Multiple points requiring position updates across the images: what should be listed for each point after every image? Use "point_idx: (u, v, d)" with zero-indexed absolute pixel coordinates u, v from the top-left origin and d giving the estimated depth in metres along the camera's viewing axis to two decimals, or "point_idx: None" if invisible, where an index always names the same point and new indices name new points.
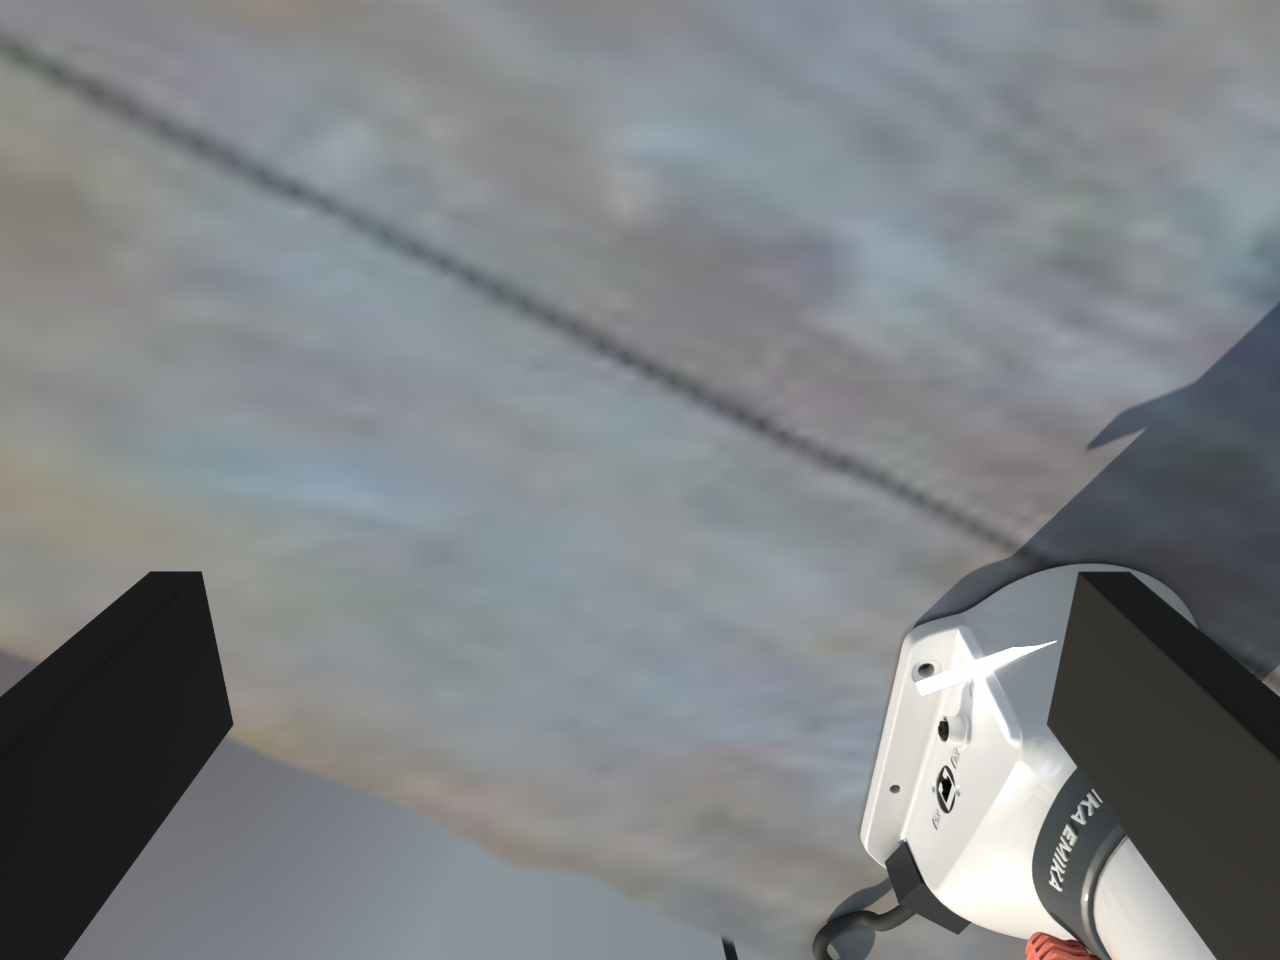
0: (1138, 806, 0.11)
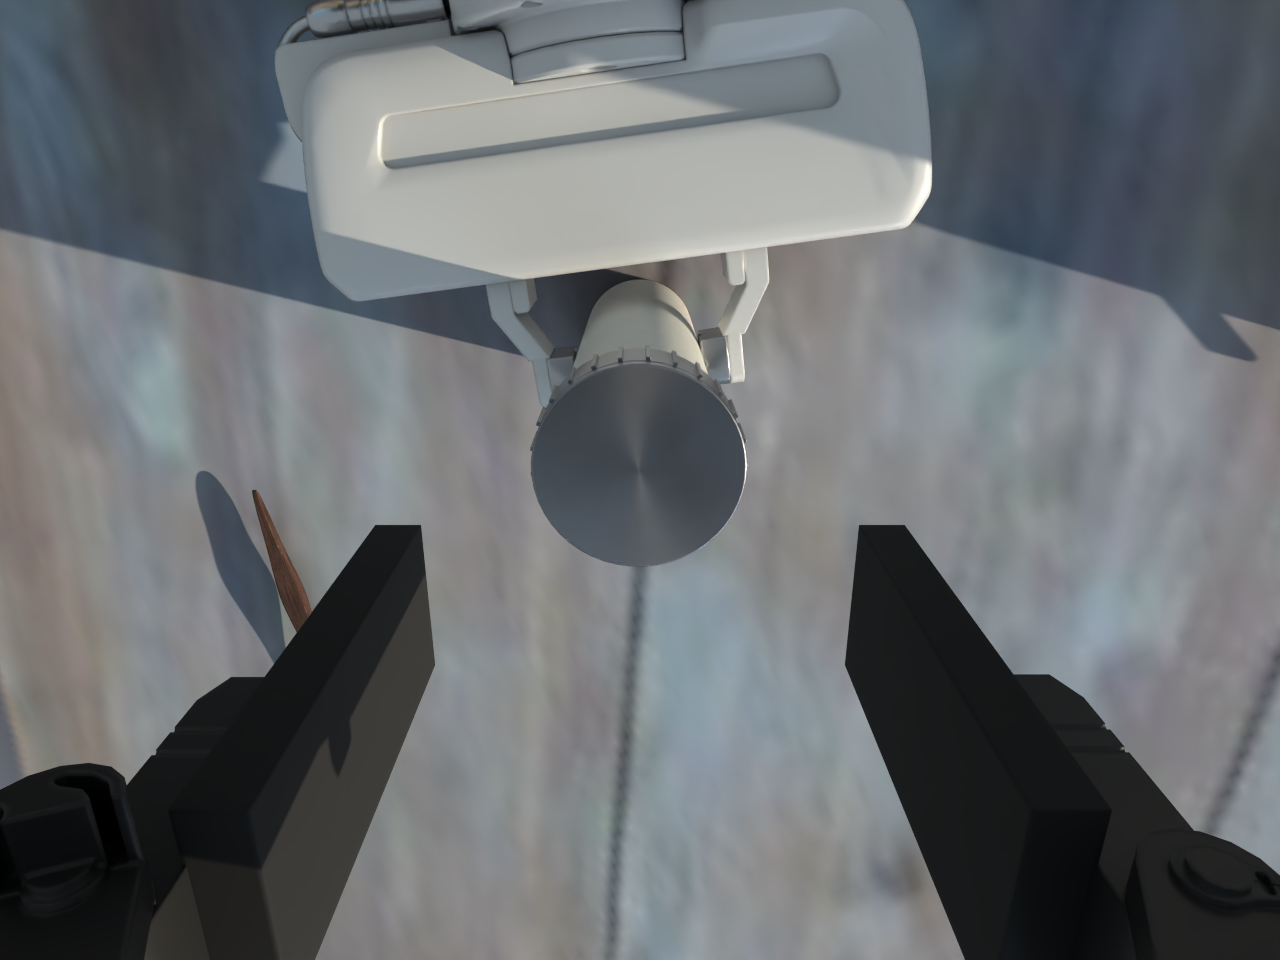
0: (885, 725, 0.12)
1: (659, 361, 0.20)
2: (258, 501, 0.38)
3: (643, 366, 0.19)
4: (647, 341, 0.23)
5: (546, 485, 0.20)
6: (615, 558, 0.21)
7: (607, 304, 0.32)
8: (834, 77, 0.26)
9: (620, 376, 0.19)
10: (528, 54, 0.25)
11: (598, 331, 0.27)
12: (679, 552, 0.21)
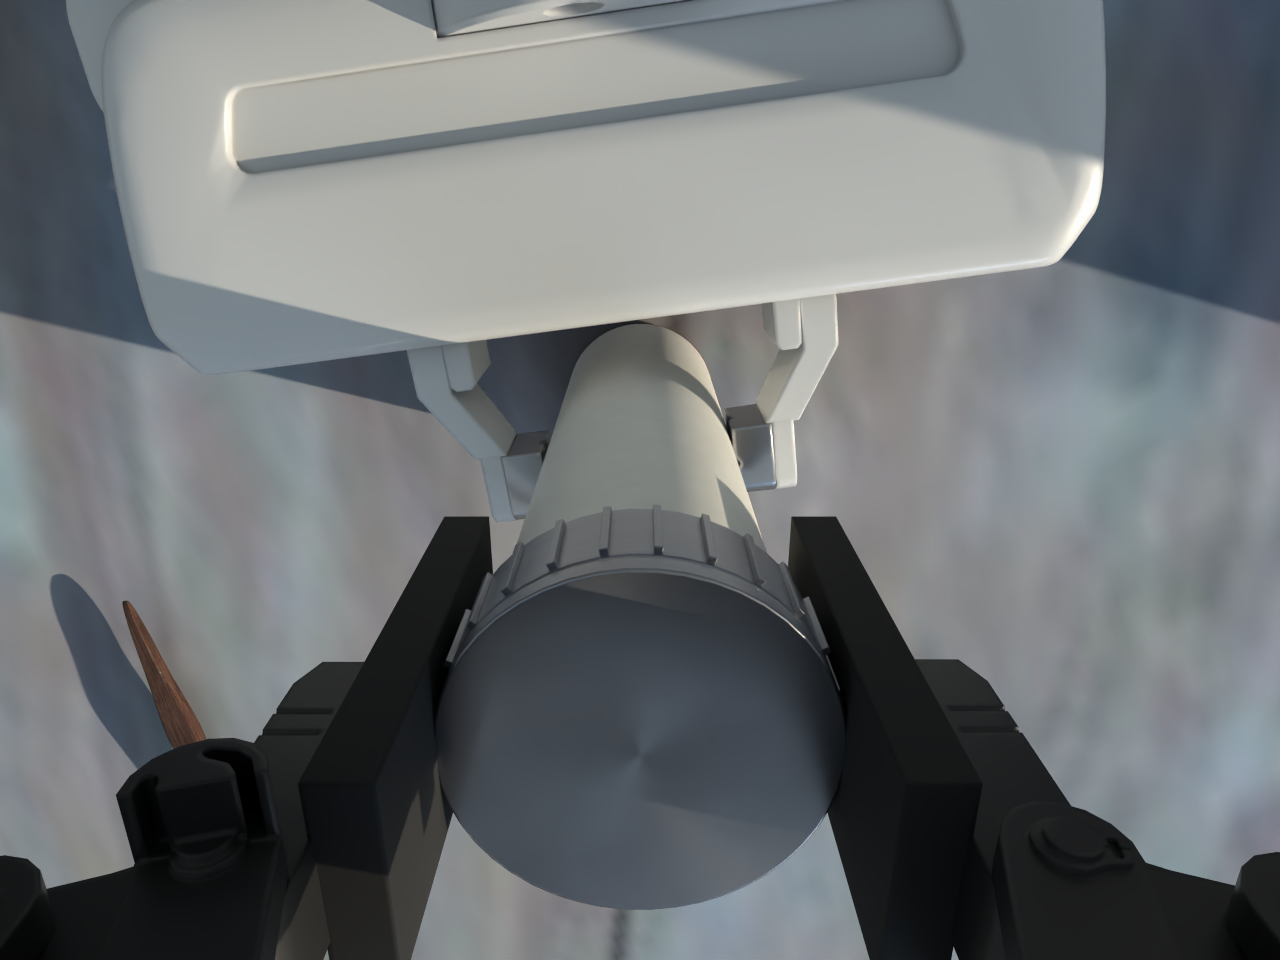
0: None
1: (680, 554, 0.10)
2: (130, 615, 0.29)
3: (650, 572, 0.10)
4: (654, 468, 0.14)
5: (464, 780, 0.11)
6: (596, 898, 0.11)
7: (594, 368, 0.22)
8: (953, 26, 0.16)
9: (603, 592, 0.10)
10: None
11: (576, 427, 0.17)
12: (715, 887, 0.11)
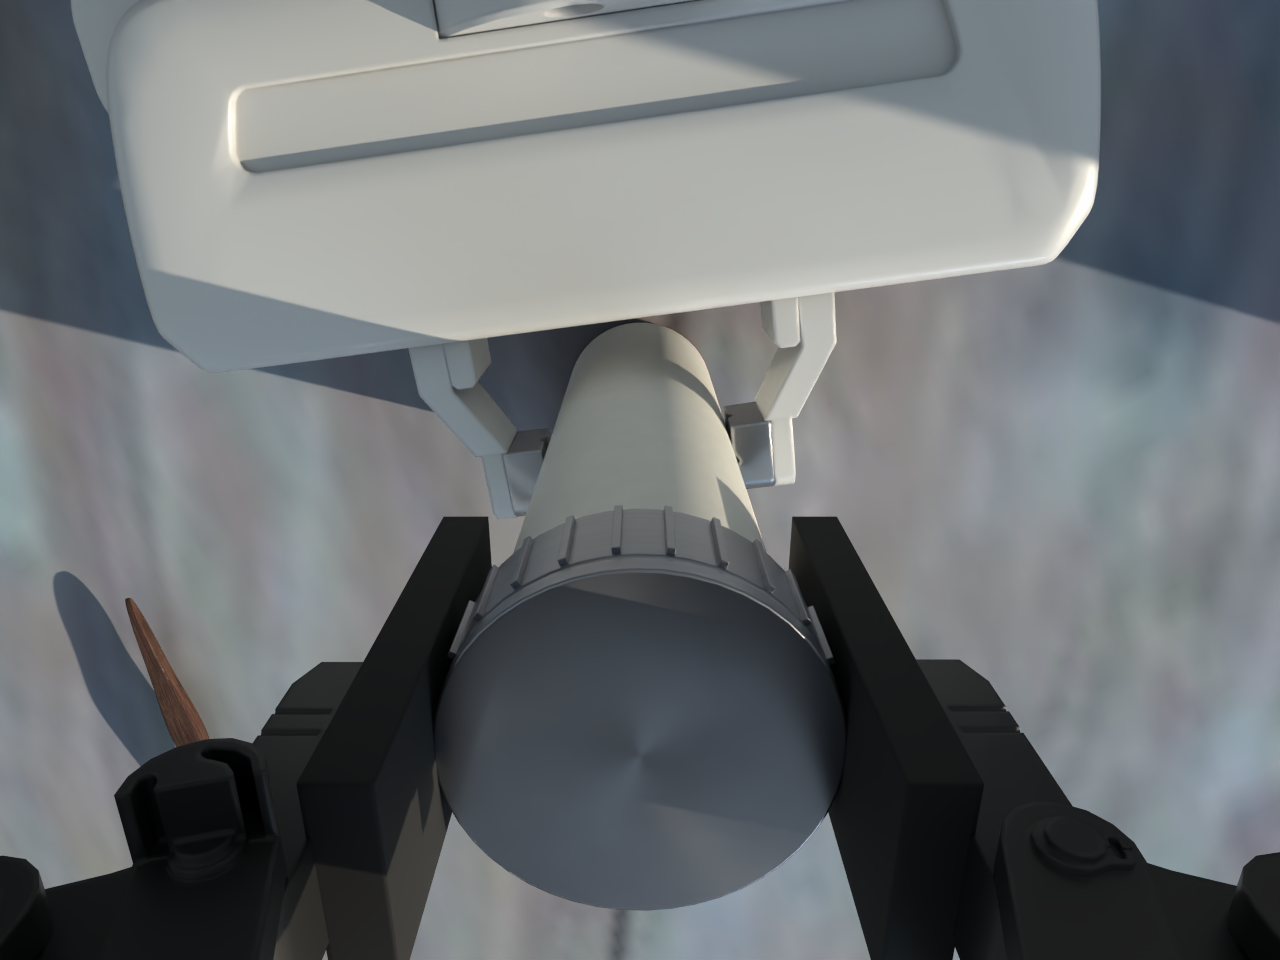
0: None
1: None
2: (133, 612, 0.29)
3: (478, 843, 0.11)
4: (654, 464, 0.14)
5: (764, 852, 0.11)
6: (825, 695, 0.10)
7: (594, 366, 0.22)
8: (950, 27, 0.16)
9: (517, 861, 0.11)
10: None
11: (576, 424, 0.17)
12: (741, 604, 0.10)
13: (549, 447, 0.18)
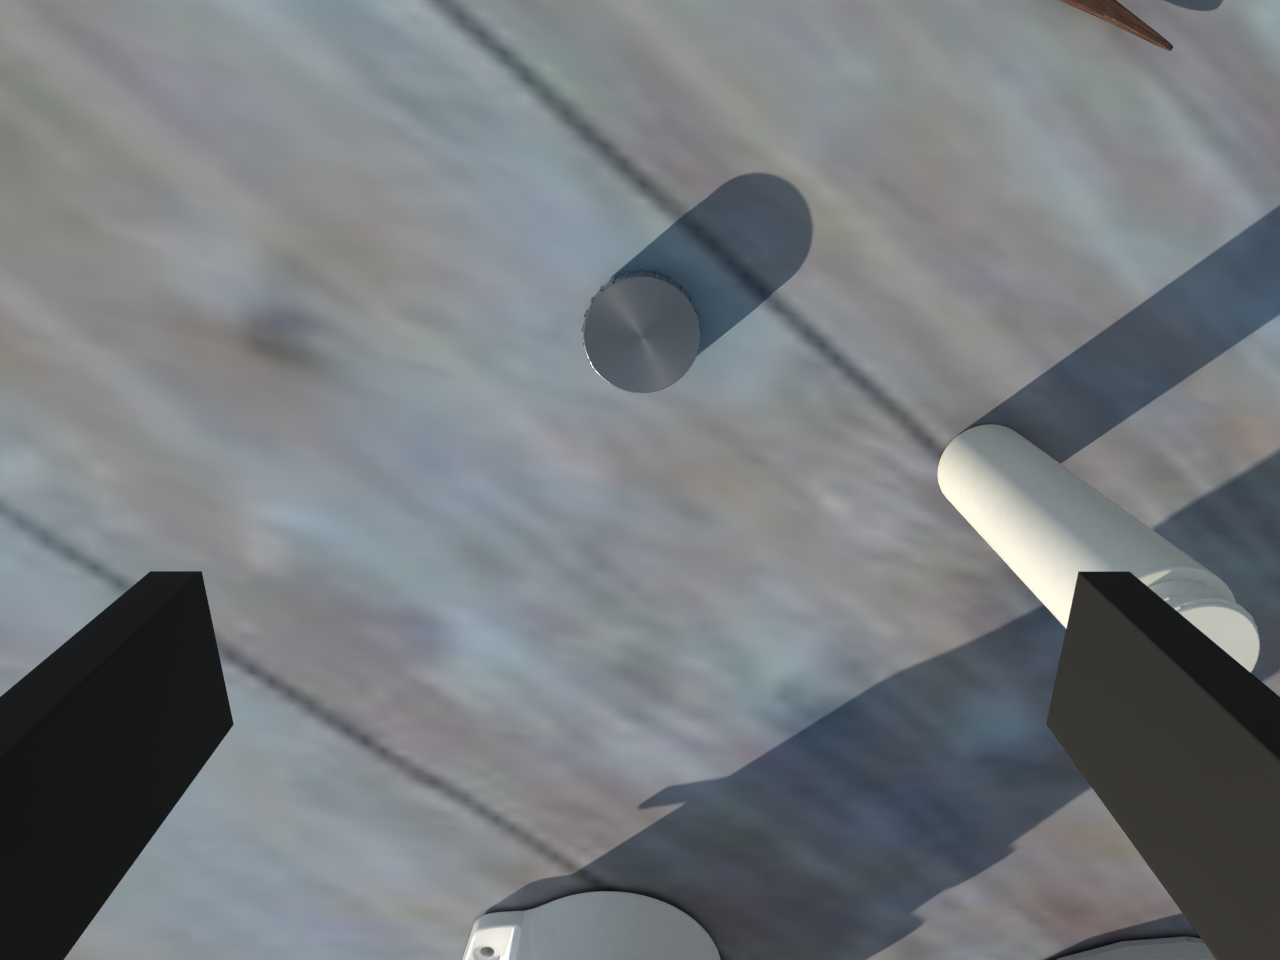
0: (1138, 806, 0.11)
1: (633, 275, 0.37)
2: (1162, 44, 0.34)
3: (625, 279, 0.36)
4: None
5: (597, 360, 0.38)
6: (646, 389, 0.38)
7: None
8: None
9: (615, 289, 0.36)
10: None
11: None
12: (678, 374, 0.38)
13: None
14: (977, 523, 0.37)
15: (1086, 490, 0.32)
